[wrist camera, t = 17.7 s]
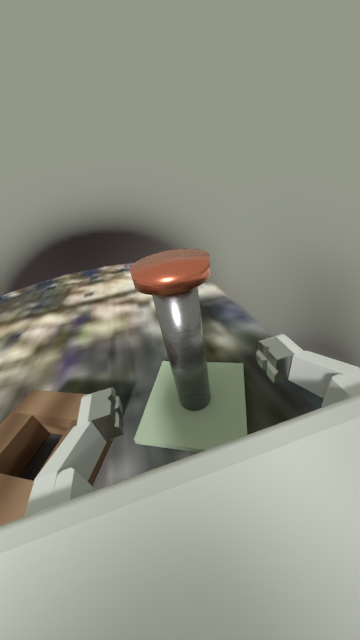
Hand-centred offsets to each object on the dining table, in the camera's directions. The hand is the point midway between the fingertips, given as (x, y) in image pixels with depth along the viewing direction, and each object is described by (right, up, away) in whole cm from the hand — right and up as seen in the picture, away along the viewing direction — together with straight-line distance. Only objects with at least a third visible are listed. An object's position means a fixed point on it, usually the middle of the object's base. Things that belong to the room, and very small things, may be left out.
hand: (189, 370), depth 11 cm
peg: (+1, -7, +15) cm, 16 cm away
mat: (+2, -8, +15) cm, 17 cm away
